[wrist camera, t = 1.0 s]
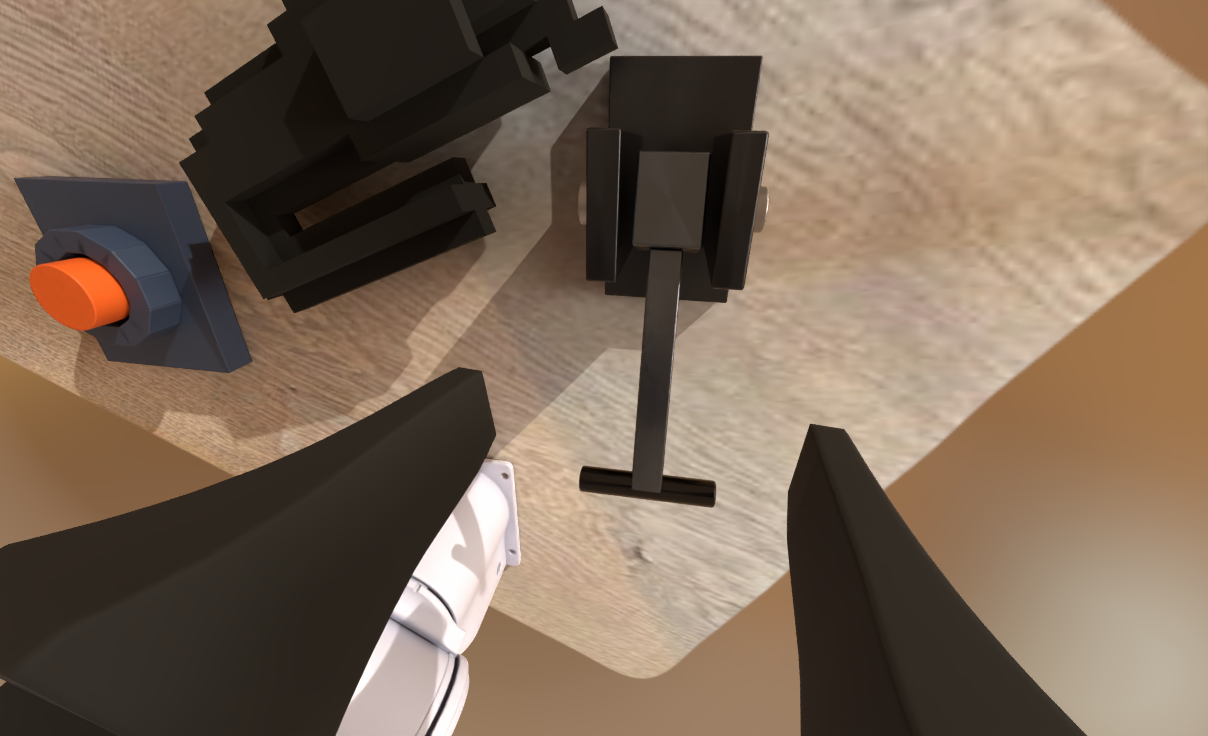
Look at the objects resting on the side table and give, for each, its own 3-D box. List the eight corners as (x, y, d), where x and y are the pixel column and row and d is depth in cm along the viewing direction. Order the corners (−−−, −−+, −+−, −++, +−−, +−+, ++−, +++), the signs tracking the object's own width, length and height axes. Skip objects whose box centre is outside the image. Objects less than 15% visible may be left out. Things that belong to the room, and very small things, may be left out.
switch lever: (710, 491, 18) (716, 523, 16) (586, 476, 19) (573, 504, 16) (747, 171, 15) (761, 152, 13) (603, 167, 16) (591, 148, 14)
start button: (142, 322, 26) (107, 333, 24) (89, 317, 26) (51, 328, 25) (113, 258, 24) (74, 266, 22) (57, 254, 24) (14, 262, 23)
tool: (3, -33, 17) (241, 332, 22) (438, -495, 10) (644, 166, 15) (159, 12, 22) (326, 303, 26) (522, -286, 15) (659, 167, 20)
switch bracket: (724, 296, 23) (745, 373, 15) (607, 288, 24) (571, 358, 16) (758, 60, 19) (813, -3, 11) (613, 60, 19) (567, 2, 12)
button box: (252, 361, 30) (202, 387, 27) (135, 350, 31) (74, 373, 28) (187, 181, 25) (116, 186, 22) (51, 176, 26) (-34, 180, 23)
